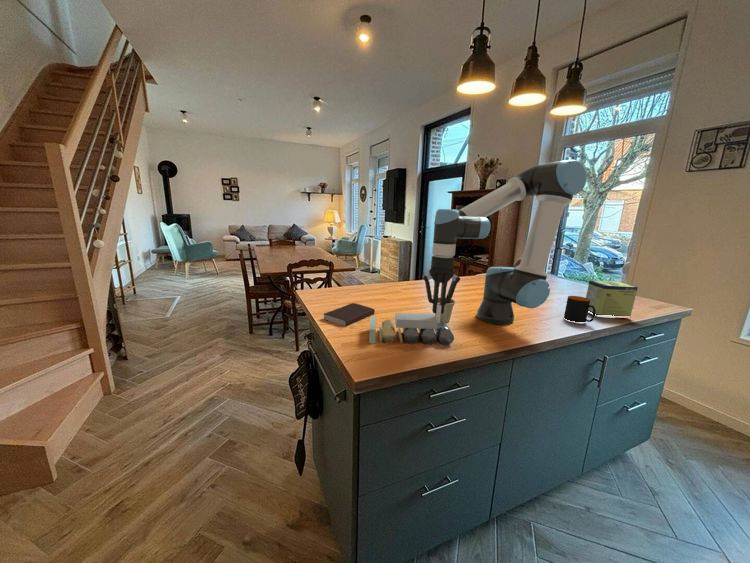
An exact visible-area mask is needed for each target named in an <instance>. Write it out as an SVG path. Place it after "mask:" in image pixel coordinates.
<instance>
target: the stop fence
mask: <svg viewBox="0 0 750 563" xmlns="http://www.w3.org/2000/svg"><path fill="white" fill-rule="evenodd" d="M369 317H370V318H369V338H368V343H369V344H376V329H377V328H376V327H377V323H376V321H377V319H376V317H375V316H369Z"/></svg>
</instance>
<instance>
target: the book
mask: <svg viewBox="0 0 750 563" xmlns="http://www.w3.org/2000/svg"><path fill="white" fill-rule="evenodd" d="M375 313H376V312H375V309H374V308H372V307H370V306H367V305H363V304H359V303H357V302H356V303H355V302H353V303H349V304H346V305H343V306H340V307H338V308H336V309H333V310H331V311H327V312H325V313H323V316H324V317H323V319H324V321H327V320H328V321H327V322H330V323H333V322H334V324H336V325H340V326H344V327H348V326H351V325H352V324H353V325H354V324H355V323H358V322H361V321H362V320H365V319H366V317H367V318H368V317H372V316H374V315H375Z"/></svg>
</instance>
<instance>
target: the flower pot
mask: <svg viewBox="0 0 750 563" xmlns="http://www.w3.org/2000/svg"><path fill="white" fill-rule="evenodd" d="M445 299H446V298H445ZM438 303H440V297H439V296H438ZM455 304H456V300H455V299H453V298H452V299H451V302H450V303H449V304H448V303H447V304H445V306H444V313H443V314H442V313H441V316H440V321H444V322H445V323H448V322H450V320H451V317H452V312H453V308H454V306H455Z"/></svg>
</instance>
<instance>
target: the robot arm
mask: <svg viewBox="0 0 750 563" xmlns="http://www.w3.org/2000/svg"><path fill="white" fill-rule="evenodd" d="M586 184H587V172H586V169H585V166H584V165H583V164H582V162H580V160H576V159H563V160H558V161H552V162H548V163H547V162H546V163H539V164H537V165H534V166H531V167H529V168H527V169H525V170H523V171H522V172H520V173H518V174H516V175H514V176H513V177H511V178H509V179H508V181H507V183H505V184H504V185H502V186H500V187H498V188H497V189H494V190H492V191H491V192H489V193H488V194H485V195H483V196H482V197H480V198H478V199H477V200H475V201H473V202H472V203H469V204H468V205H466V206H464V207H462V208H460V209H459V210H458V209H454V208H453V209H450V208H439V209H437V210H436V212H435V217H434V223H433V224H434V228H433V242H432V252H431V254H432V256H431V262H430V264H431V265H430V269H429V270H428V273H426V274H422V279H423V280H424V284H425V291H426V295H427V301H428V302H429V304H432V309H431V310H432V314H434V316H435V318H436V320H437V323H440V316H441V313H442V314H443V313H444V306H445V304H447V303H448V304H449V303H450V302H451V299H453V295H454V293H455V290H456V288H457V285H458V283H459V282H460V281H461V278H460V276H458V275H457V274H455V271H454V266H455V257H454V256H455V255H456V246H457V245H456V244H457V239H465V240H466V239H467V240H468V239H469V240H470V239H472V240H473V239H474V240H478V239H479V240H480V239H481V240H483V239H485V238H487V237H488V236H489V234H490V232H491V225H492V224H491V222H490V220H489V219H488V218H487V217H489V216H491V215H492V214H494V213H497V212H498V211H500V210H501V209H503V208H505V207H507V206H508V205H510V204H512V203H514V202H515V201H519V202H520V201H523V200H525V199H527V198H529V197H535V198H536V200H537V201H538V204H537V208H536V211H535V214H534V217H533V219H532V224H531V227H530V229H529V234H528V237H527V240H526V243H525V246H524V249H523V253H522V257H521V258H520V259H521V260H520V263H519V265H517V266H515V267H512V266H510V267H509V266H490V267H488V268H487V270H486V272H485V273H486V274H485V279H484V288H483V297H482V301H481V303H480V305H479V306H478V309H477V311H476V317H477V319H479V320H480V321H482V322H484V323H485V322H486V323H487V324H488V323H489V324H493V325H501V326H502V325H503V326H504V325H505V326H506V325H511V324H513V323H514V321H515V313H514V310H513V304H517V305H518V306H519V307H523V308H526V309H536V308H538V307H540V306H542V305H543V304H544V303H545V302H546V300H548V298H549V296H550V293H551V287H550V284H549V282H547V277H548V275H547V273H546V271H545V269H546V266H547V262H548V260H549V256H550V254H551V250H552V247H553V245H554V241H555V238H556V235H557V232H558V229H559V225H560V222H561V219H562V216H563V214H564V210H565V207H566V206H567V205H569V204H571V203H572V201H573V197H574V195H575V196H576V195H577V194H580V193H581V191H583V190H584V188H585V186H586ZM431 279H432V280H433V295H432V290H431V284H430V283H431V282H430V280H431ZM450 280H451V282H450ZM448 282H450V286H449V288H448V290H447V287H448ZM440 285H441V287H440ZM439 289H440V290H439ZM439 291H440V292H439ZM439 293H440V303H438V297H439ZM445 298H446V299H445ZM512 303H513V304H512Z"/></svg>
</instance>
